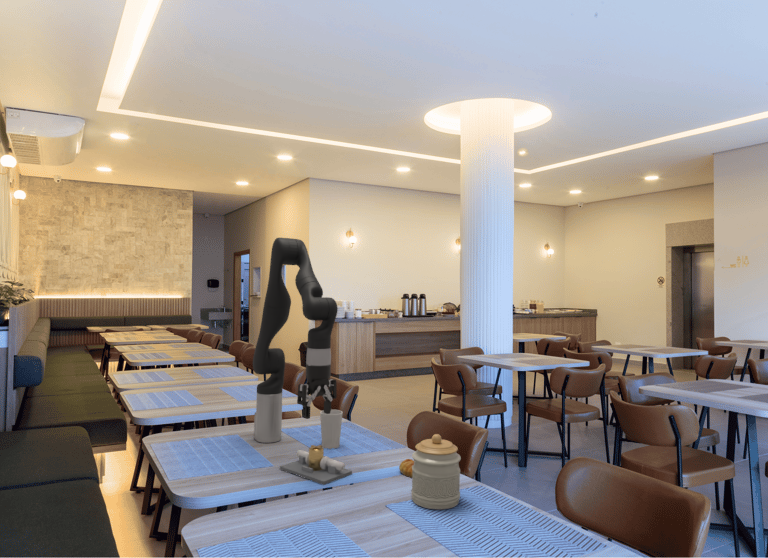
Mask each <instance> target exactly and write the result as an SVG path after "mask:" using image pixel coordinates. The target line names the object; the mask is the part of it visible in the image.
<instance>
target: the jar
mask: <svg viewBox="0 0 768 558" xmlns="http://www.w3.org/2000/svg"><path fill="white" fill-rule="evenodd" d="M415 449H416V450H415V451H414V452H413V453H412V454H411V456H412V460H413V461H414V465H413V466H412V478H411V479H412V480H411V483H412V485H411V490H410V491H411V493H410V494H411V500H412V502H413V503H414V504H415V505H417V506H419V507H421V508H425V509H429V510H448V509H452V508H455V507H456V506H458V504H459V503H460V499H461V491H460V487H461V485H460V482H461V481H460V479H461V468H460V465H459V462H461V459H462V458H461V455H460V454H459V453H457V452H458V451H459V449H458V446H456V445H455V444H453V442H452V441H450V440H447V439H442V436H441V435H440V434H439V433H435V434H433V435H432V436H431V438H426V439H423V440H422V441H420V442H419V443H417V444H416V445H415Z"/></svg>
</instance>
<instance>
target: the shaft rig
mask: <svg viewBox="0 0 768 558" xmlns="http://www.w3.org/2000/svg"><path fill="white" fill-rule="evenodd" d="M296 457H297V458H298V460H296V461H292V462H289V463H286V464H283V465H280V466H279V470H280V469H281V471H283V470H284V471H283V472H285V471H287V472H286V473H288V472H291V473H294V474H297V475H300V476H302V477H305V478H308V479H310V480H309V481H311V480H312V481H311V482H314V483H317V484H320V485H322V486H325V485H327V484H330V483H333V482H335V481H338V480H340V479H343V478H346V477H348V476H351V475H353V470H351V469H349V468H348V469H347V468H345V467H346V465H345V463H344V462H341V461H339V460H335V459H332V458H330V457H329V456H324V455H323V458H322V459H321V461H320V467H321V469H322V470H319V471H313V468H310V467H309V451H305V450H303V449H299V450H297V452H296ZM291 473H290V474H291ZM294 474H293V475H294ZM297 475H296V476H297ZM300 476H299V477H300ZM302 477H301V478H302ZM305 478H304V479H305ZM308 479H307V480H308Z"/></svg>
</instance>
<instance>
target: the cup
mask: <svg viewBox="0 0 768 558" xmlns="http://www.w3.org/2000/svg"><path fill="white" fill-rule="evenodd" d="M319 414H320V431H321V445H322V447H323V448H324V449H327V448H328V449H329V450H331V449H332V448H334V449H337V448H340V447H341V445H340V442H341V432H342V420H343V414H344V413H343V411H342V410H339V409H331V411H330V414H326V413H324V409H323V410H320V412H319ZM328 449H327V450H328Z"/></svg>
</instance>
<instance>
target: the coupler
mask: <svg viewBox="0 0 768 558" xmlns="http://www.w3.org/2000/svg"><path fill="white" fill-rule="evenodd" d="M324 449H325V448H323V447H322V444H319V445H314V444H312V445H310V447H309V448H308V452H309V467H310V468H313V471H319V470H322V469H321V467H320V461H321V459H322V458H323V457H324Z"/></svg>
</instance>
